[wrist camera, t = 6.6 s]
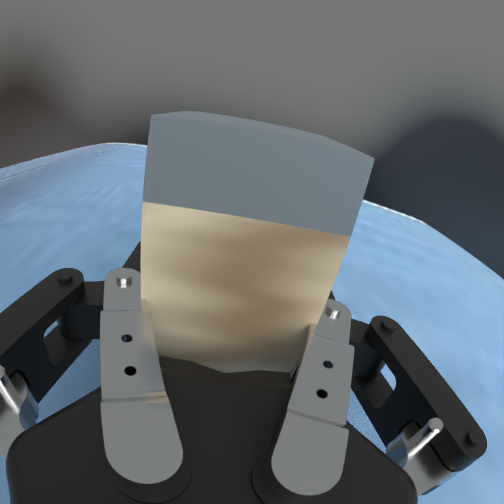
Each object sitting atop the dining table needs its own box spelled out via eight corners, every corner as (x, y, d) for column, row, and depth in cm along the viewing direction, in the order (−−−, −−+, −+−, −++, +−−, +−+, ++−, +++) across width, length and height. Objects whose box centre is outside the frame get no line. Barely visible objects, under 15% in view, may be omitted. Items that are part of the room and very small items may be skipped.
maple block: (151, 424, 11) (151, 114, 6) (169, 348, 15) (191, 110, 10) (263, 438, 12) (374, 158, 6) (259, 361, 16) (322, 135, 11)
